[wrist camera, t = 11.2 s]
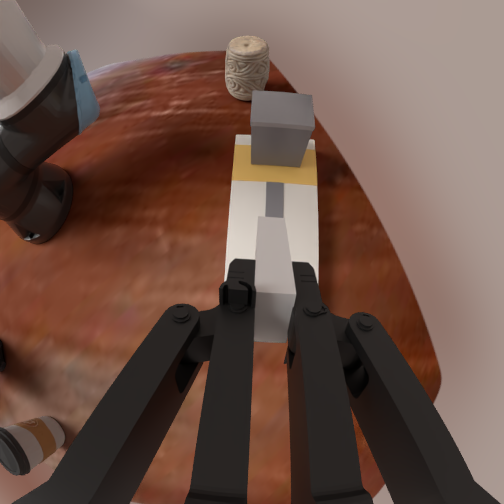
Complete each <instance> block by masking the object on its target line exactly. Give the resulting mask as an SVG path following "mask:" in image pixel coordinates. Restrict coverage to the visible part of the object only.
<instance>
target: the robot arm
mask: <svg viewBox="0 0 504 504" xmlns="http://www.w3.org/2000/svg"><path fill="white" fill-rule="evenodd" d="M99 113H100V107H99V104H98V102H97V99H96V97H95V94H94V92H93V89H92V87H91V84H90V82H89V79H88V77H87V74H86V71H85V69H84V66H83V63H82V61H81V58H80V55H79V52H78V50H73V51H69V52H67V54H65V52H64V51H63V49H62V48H61V47H60V46H58V45H48V46H45V45H44V44H43V43H42V41H41V40H40V38H39V37H38V35H37V33H36V32H35V30H34V29H33V27H32V26H31V24H30V23H29V21H28V19H27V18H26V16H25V15H24V13H23V12H22V10H21V9H20V7H19V5H18V3H17V2H16V0H0V219H1V220H4V221H6V222H7V224H8V225H9V226H10V227H11V228H12V229H13V230H14V231H15V233H16V234H17V235H18V236H19V237H20V238H21V239H23V240H25V241H27V242H30V243H33V244H40V243H43V242H45V241H47V240H49V239H50V238H51V237H52V236H54V235H55V234H56V232H57V231H58V230H59V229H60V227H61V226H62V224H63V223H64V221H65V219H66V217H67V215H68V212H69V209H70V206H71V202H72V196H73V186H72V181H71V178H70V176H69V175H68V173H67V172H66V171H64V170H63V169H62V168H61V167H59V166H57V165H55V164H51V163H47V162H44V161H45V160H46V159H47V158H49V157H50V156H51V155H52V154H54V153H55V152H56V151H57V150H59V149H60V148H61V147H62V146H64V145H65V144H66V143H68V142H69V141H70V140H72V139H73V138H74V137H76V136H77V135H80V134H81V133H82V131H83V130H84V129H85V128H87V127H88V126H89V125H90V124H92V123H93V122H94V121H95V120H96V119H97V118H98V116H99ZM219 303H220V304H219V305H218V306H217V307H215V308H213V309H210V310H206V311H200V312H198V310H197V309H196V308H195V307H194V306H191V305H189V304H176V305H173V306H171V307H169V308H168V309H167V310H166V311H165V312H164V314H163V315H162V316H161V318H160V319H159V320H158V322H157V323H156V324H155V326H154V327H153V328H152V330H151V331H150V332H149V334H148V335H147V337H146V338H145V339H144V341H143V342H142V343H141V345H140V346H139V347H138V349H137V350H136V352H135V353H134V354H133V356H132V357H131V358H130V360H129V361H128V363H127V364H126V365H125V367H124V368H123V370H122V371H121V372H120V374H119V375H118V377H117V378H116V380H115V381H114V382H113V384H112V385H111V387H110V388H109V390H108V391H107V392H106V394H105V395H104V397H103V398H102V400H101V401H100V402H99V404H98V405H97V407H96V408H95V410H94V411H93V413H92V414H91V416H90V417H89V419H88V420H87V422H86V423H85V425H84V426H83V428H82V429H81V431H80V432H79V434H78V435H77V437H76V438H75V440H74V441H73V443H72V444H71V446H70V447H69V449H68V450H67V452H66V454H65V455H64V457H63V458H62V460H61V461H60V463H59V465H58V466H57V468H56V469H55V471H54V473H53V474H52V476H51V477H50V479H49V480H48V481H47V482H45V483H44V484H42V485H40V486H39V487H37V488H36V489H34V490H33V491H31V492H29V493H28V494H26V495H25V496H23V497H21V498H20V499H18V500H16V501H15V502H13V503H12V504H130V502H131V500H132V498H133V496H134V494H135V492H136V490H137V489H138V487H139V485H140V483H141V481H142V479H143V477H144V475H145V474H146V472H147V470H148V468H149V466H150V464H151V462H152V460H153V458H154V457H155V455H156V453H157V451H158V449H159V447H160V445H161V443H162V441H163V439H164V438H165V436H166V434H167V432H168V430H169V428H170V426H171V424H172V422H173V420H174V418H175V416H176V415H177V413H178V411H179V409H180V407H181V405H182V403H183V401H184V399H185V397H186V395H187V393H188V392H189V390H190V388H191V386H192V384H193V382H194V380H195V378H196V376H197V374H198V372H199V370H200V368H201V366H202V364H203V362H204V361H210V362H209V368H208V374H207V380H206V386H205V392H204V398H203V405H202V411H201V417H200V424H199V430H198V437H197V443H196V450H195V457H194V464H193V471H192V478H191V485H190V490H189V493H188V495H187V497H186V500H185V503H184V504H247V485H248V464H249V442H250V420H251V397H252V373H253V348H254V341H255V342H275V343H286V341H287V336H288V347H287V352H286V356H285V360H284V364H286V363H287V374H288V395H289V420H290V452H291V504H373V500H372V497H371V495H370V493H369V492H367V491H366V490H365V489H364V488H363V486H362V481H361V473H360V465H359V457H358V450H357V444H356V437H355V431H354V425H353V419H352V413H351V408H352V410H353V413H354V415H355V417H356V419H357V421H358V423H359V426H360V428H361V430H362V432H363V434H364V437H365V439H366V441H367V443H368V445H369V448H370V450H371V452H372V454H373V457H374V459H375V461H376V463H377V466H378V468H379V470H380V472H381V475H382V477H383V479H384V482H385V484H386V486H387V488H388V491H389V493H390V495H391V498H392V500H393V502H394V504H500V503H499V502H498V501H497V500H496V499H495V498H493V497H492V496H491V495H490V494H489V493H488V492H487V491H485V490H484V489H483V488H482V487H481V486H480V485H478V484H477V483H476V482H475V481H474V480H473V477H472V475H471V473H470V471H469V469H468V467H467V465H466V463H465V461H464V459H463V457H462V455H461V453H460V451H459V449H458V447H457V446H456V444H455V442H454V440H453V438H452V436H451V434H450V433H449V431H448V429H447V427H446V426H445V424H444V422H443V420H442V419H441V417H440V415H439V413H438V412H437V410H436V408H435V407H434V405H433V403H432V402H431V400H430V398H429V397H428V395H427V393H426V392H425V390H424V388H423V387H422V385H421V384H420V382H419V380H418V379H417V377H416V376H415V374H414V373H413V371H412V369H411V368H410V366H409V365H408V363H407V362H406V360H405V359H404V357H403V356H402V354H401V353H400V351H399V350H398V348H397V347H396V345H395V344H394V342H393V341H392V339H391V338H390V336H389V335H388V333H387V332H386V330H385V329H384V328H383V326H382V325H381V323H380V322H379V321H378V320H377V319H376V318H375V317H374V316H372V315H371V314H368V313H364V312H358V313H355V314H353V315H352V316H351V317H350V319H346V318H342V317H339V316H336V315H333V314H332V313H330V311H329V309H328V307H327V306H326V305H325V304H324V303H322V299H321V295H320V290H319V286H318V283H317V278H316V274H315V270H314V268H313V267H312V266H311V265H310V264H309V263H308V262H296V261H291V254H290V248H289V241H288V235H287V229H286V223H285V218H276V217H262V216H258V224H257V238H256V251H255V260H253V259H238V258H235V259H234V260H233V261H232V262H231V263H230V264H229V269H228V274H227V280H226V281H225V282H224V283H222V284H221V286H220V288H219ZM350 406H351V408H350Z"/></svg>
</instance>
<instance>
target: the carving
mask: <svg viewBox="0 0 504 504" xmlns="http://www.w3.org/2000/svg"><path fill="white" fill-rule="evenodd" d="M226 53H227V54H226V60H225V63H226V67H225V80H226V86H227V88H228V91H229V92H230V94H231V95H232V96H233V97H235V98H237V99H240V100H244V101H249V100H252V93H253V90H257V91H264V88H265V84H266V82H267V80H268V75H269V73H268V72H269V57H268V56H269V48H268V44H267V43H266V42H265V41H264V40H262V39H260V38H258V37H254V36H241V37H237V38H234V39H233V40H232V41H231V42H230V43H229V45H228V47H227V52H226Z"/></svg>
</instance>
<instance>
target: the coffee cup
mask: <svg viewBox="0 0 504 504" xmlns="http://www.w3.org/2000/svg"><path fill="white" fill-rule="evenodd" d="M64 440H65V435H64V432H63V430H62V428H61V426H60V425H59V424H58V422H57V421H55V420H54V419H53V418H51V417H47V416H42V417H39V418H34V419H31V420H28V421H24V422H21V423H17V424H14V425H12V426H8V427H4V428H0V463H1V464H2V465H3V466H4V467H5V469H6V470H8V471H9V472H10V473H12V474H13V475H25V474H28V473H29V472H30V470H31V469H33V468H34V467H35V466H37V465H38V464H40V463H41V462H43V461H44V460H45V459H46V458H48V457H49V456H50V455H51V454H53V453H54V452H55V451H56V450H57V449H58V448H59V447H61V446H62V445H63V444H64Z"/></svg>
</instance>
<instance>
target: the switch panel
mask: <svg viewBox="0 0 504 504" xmlns="http://www.w3.org/2000/svg"><path fill="white" fill-rule="evenodd" d="M258 216H262V217H276V218H285V223H286V229H287V235H288V241H289V248H290V254H291V261H296V262H308V263H309V264H310V265H311V266H312V267H313V268H314V270H315V274H316V278H317V283H318V260H319V246H318V196H317V168H316V152H315V141H314V140H309V143H308V146H307V148H306V151H305V154H304V157H303V160H302V163H301V166H300V167H289V166H275V165H257V164H251V135H236V141H235V150H234V161H233V172H232V185H231V197H230V209H229V222H228V236H227V250H226V265H225V281H226V280H227V274H228V269H229V264H230V263H231V262H232V261H233V260H234V259H235V258H238V259H253V260H255V251H256V238H257V224H258ZM225 281H224V282H225Z"/></svg>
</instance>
